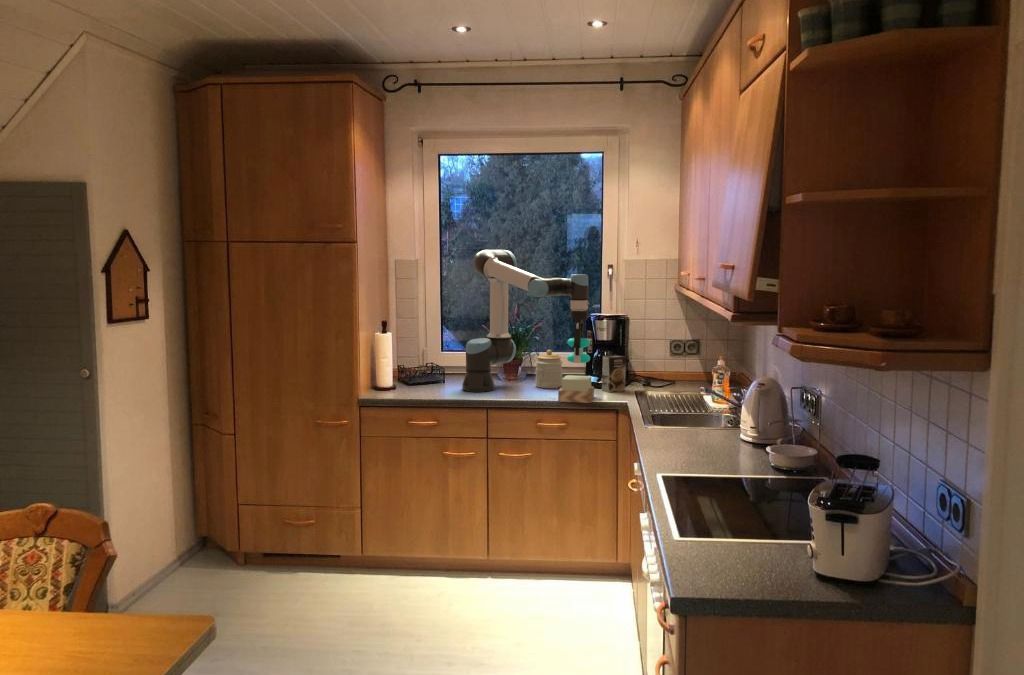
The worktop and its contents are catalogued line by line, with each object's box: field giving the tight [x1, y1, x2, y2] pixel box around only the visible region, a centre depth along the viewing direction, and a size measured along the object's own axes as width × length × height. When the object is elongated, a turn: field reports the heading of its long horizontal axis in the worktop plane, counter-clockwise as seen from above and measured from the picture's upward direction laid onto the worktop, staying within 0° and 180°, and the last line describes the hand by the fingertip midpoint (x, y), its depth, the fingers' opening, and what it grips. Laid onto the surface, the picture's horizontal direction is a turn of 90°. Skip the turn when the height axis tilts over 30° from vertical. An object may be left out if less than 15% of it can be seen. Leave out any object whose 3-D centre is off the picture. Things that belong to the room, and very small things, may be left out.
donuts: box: [566, 337, 591, 364], centre depth 335 cm, size 10×10×10 cm
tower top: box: [562, 374, 592, 392], centre depth 336 cm, size 11×11×5 cm
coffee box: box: [601, 354, 627, 393], centre depth 357 cm, size 9×6×16 cm
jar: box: [535, 349, 564, 389], centre depth 368 cm, size 13×13×18 cm
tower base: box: [557, 386, 595, 404], centre depth 337 cm, size 14×14×5 cm
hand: (578, 361), depth 335 cm, fingers closed on donuts, 10 cm apart
